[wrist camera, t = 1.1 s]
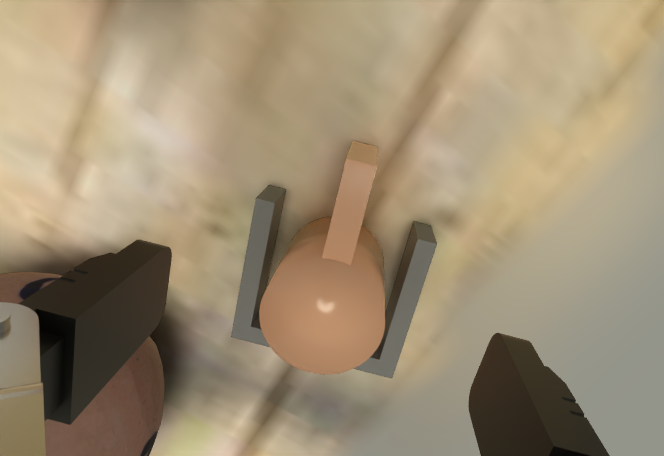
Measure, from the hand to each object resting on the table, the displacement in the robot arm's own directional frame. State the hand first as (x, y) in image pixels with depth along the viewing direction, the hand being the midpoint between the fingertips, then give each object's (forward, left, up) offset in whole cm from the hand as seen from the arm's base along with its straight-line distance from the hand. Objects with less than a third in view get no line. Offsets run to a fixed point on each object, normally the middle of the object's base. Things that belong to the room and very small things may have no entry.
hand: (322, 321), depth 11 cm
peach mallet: (+5, 0, -20) cm, 21 cm away
